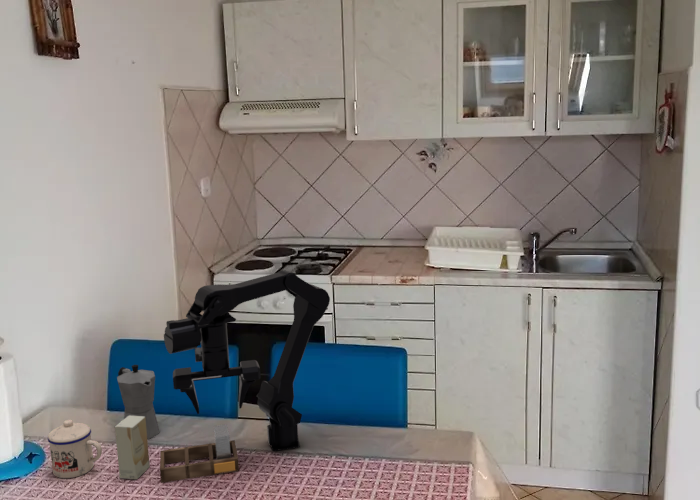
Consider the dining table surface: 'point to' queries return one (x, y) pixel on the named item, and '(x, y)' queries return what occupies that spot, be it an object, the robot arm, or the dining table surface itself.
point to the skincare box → (132, 447)
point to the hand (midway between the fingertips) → (219, 410)
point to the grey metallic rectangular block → (222, 442)
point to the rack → (196, 468)
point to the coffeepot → (139, 396)
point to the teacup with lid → (72, 449)
